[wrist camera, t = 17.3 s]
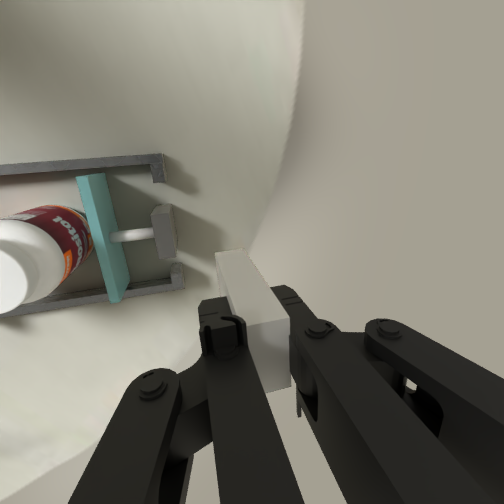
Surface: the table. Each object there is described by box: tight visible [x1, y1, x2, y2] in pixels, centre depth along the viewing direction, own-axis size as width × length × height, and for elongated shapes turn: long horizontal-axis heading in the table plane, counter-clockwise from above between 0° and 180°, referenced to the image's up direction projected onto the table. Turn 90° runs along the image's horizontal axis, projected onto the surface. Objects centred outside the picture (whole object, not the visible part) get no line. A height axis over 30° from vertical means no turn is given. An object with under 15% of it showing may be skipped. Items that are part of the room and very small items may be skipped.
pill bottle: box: [0, 205, 94, 314], centre depth 22 cm, size 6×6×11 cm
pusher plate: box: [76, 173, 178, 304], centre depth 26 cm, size 6×11×5 cm, turn 4°
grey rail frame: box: [0, 153, 185, 318], centre depth 25 cm, size 20×14×4 cm, turn 94°
